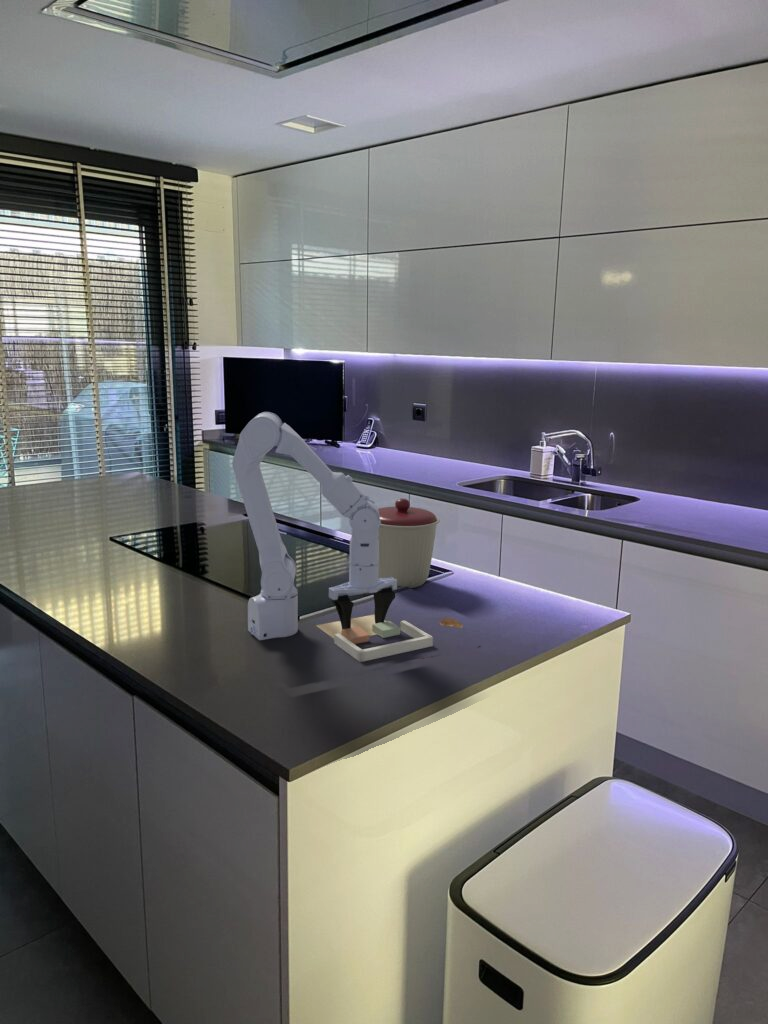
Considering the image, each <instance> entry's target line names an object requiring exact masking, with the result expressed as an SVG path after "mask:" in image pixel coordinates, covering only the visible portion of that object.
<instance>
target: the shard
mask: <svg viewBox="0 0 768 1024" xmlns="http://www.w3.org/2000/svg"><path fill="white" fill-rule="evenodd" d="M438 623H439V624H440V626H442V627H452V628H457V629H458V628H459V629H462V628H463V627H464V626H463V624H462V623H461V622H459V621H458V620H456V619H454V618H452V617H445V618H442V619H441V620H440V621H439V622H438Z"/></svg>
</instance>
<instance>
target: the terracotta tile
mask: <svg viewBox="0 0 768 1024" xmlns="http://www.w3.org/2000/svg"><path fill="white" fill-rule="evenodd" d="M341 635H342V636H343V637H345V638H346V639H348V640H349V641H351V642H352V643H353V644H355V645H356V644H357V645H358V644H362V643H366V642H370V637H371V636H370V635H369V634H368V633H367V632H366V631H365V630H363V629H362V628H361V627H360V626H358V627H353V628H348V629H343V630H342V632H341Z"/></svg>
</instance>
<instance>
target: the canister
mask: <svg viewBox="0 0 768 1024" xmlns="http://www.w3.org/2000/svg"><path fill="white" fill-rule="evenodd" d="M394 505H395V506H384V507H379V508H378V510H379V515H380V520H381V524H380V527H379V529H378V531H379V536H378V539H379V565H378V579H380V578H394V579H396V580H397V587H407V588H410V589H413V588H419V587H420V586H422V585H424V583H426V581H427V579H428V577H429V575H430V570H431V564H432V559H433V551H434V548H435V547H434V545H435V540H436V539H435V538H436V532H437V525H438V524H439V523H440V522H441V521H440V517H439V516H438V515H436V514H434V512H432V511H430V510H427V509H425V508H420V507H413V506H411V503H410V501H409V500H408V499H406V498H398V499H397V500H395V503H394Z"/></svg>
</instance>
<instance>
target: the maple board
mask: <svg viewBox="0 0 768 1024" xmlns="http://www.w3.org/2000/svg"><path fill="white" fill-rule="evenodd" d="M386 621H387V620H384V622H386ZM372 624H376V623H375V613H374V614H369V615H365V616H359V617H353V618H351V628H353V627H358V626H360V627H361V628H362V629H363V630H365V631H366V632H367V633H368V634H369V635H370V637H372V636H376V635H377V634H376V633H374V632H373V631H372ZM315 627H316V628H318V629H320V630H321V631H322V632H324V633H325V634H326V635H328V636H329V637H330V638H332V639H333V640H334V634H338V633H339V634H341V632H342V626H341V621H340V620H337V621H332V622H328V623H321V624H316V625H315ZM377 636H378V635H377Z"/></svg>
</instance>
